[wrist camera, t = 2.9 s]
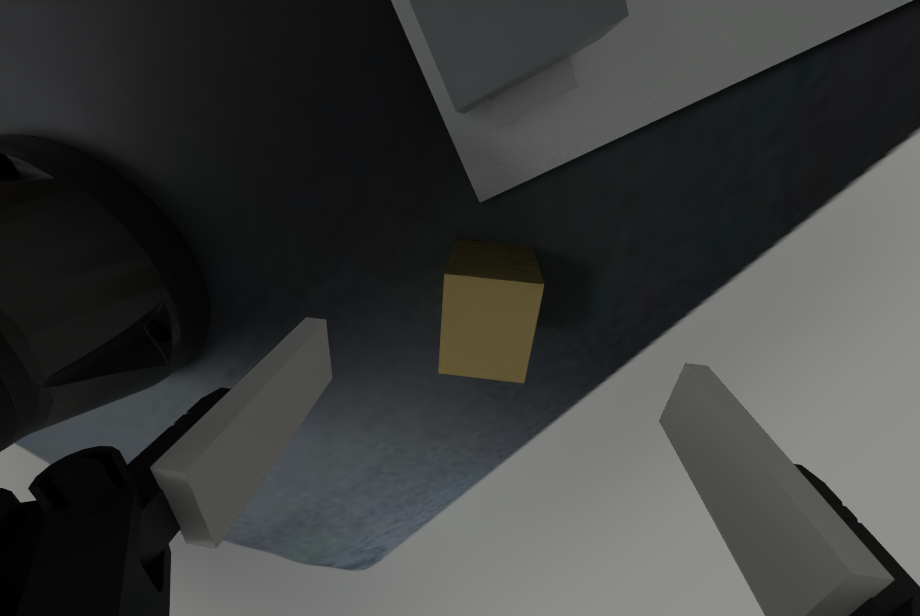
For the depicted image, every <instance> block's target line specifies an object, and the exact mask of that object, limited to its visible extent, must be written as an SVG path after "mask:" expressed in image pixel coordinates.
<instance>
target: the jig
mask: <svg viewBox="0 0 920 616" xmlns="http://www.w3.org/2000/svg"><path fill="white" fill-rule="evenodd" d="M910 1H913V0H391V2H392V4H393V6H394V8H395V11H396V13H397V15H398V18H399V20H400V22H401V24H402V27H403V29H404V31H405V34H406V36H407V38H408V40H409V43H410V45H411V47H412V49H413V52H414V54H415V56H416V59H417V61H418V63H419V65H420V68H421V70H422V72H423V75H424V77H425V79H426V81H427V84H428V86H429V88H430V91H431V93H432V95H433V97H434V100H435V102H436V104H437V107H438V109H439V111H440V113H441V116H442V118H443V120H444V123H445V125H446V127H447V129H448V132H449V134H450V136H451V138H452V141H453V143H454V145H455V148H456V150H457V152H458V154H459V157H460V159H461V161H462V164H463V166H464V168H465V170H466V173H467V175H468V177H469V180H470V182H471V184H472V186H473V189H474V191H475V193H476V196H477V198H478V200H479V202H483V201H485V200H487V199H489V198H491V197H493V196H495V195H498V194H500V193H502V192H504V191H506V190H508V189H510V188H513V187H515V186H517V185H519V184H521V183H523V182H525V181H528V180H530V179H532V178H534V177H536V176H538V175H540V174H543V173H545V172H547V171H549V170H551V169H553V168H555V167H557V166H560V165H562V164H564V163H566V162H568V161H570V160H572V159H575V158H577V157H579V156H581V155H583V154H585V153H587V152H590V151H592V150H594V149H596V148H598V147H600V146H602V145H605V144H607V143H609V142H611V141H613V140H615V139H617V138H619V137H622V136H624V135H626V134H628V133H630V132H632V131H634V130H637V129H639V128H641V127H643V126H645V125H647V124H649V123H652V122H654V121H656V120H658V119H660V118H662V117H664V116H667V115H669V114H671V113H673V112H675V111H677V110H679V109H682V108H684V107H686V106H688V105H690V104H692V103H694V102H696V101H699V100H701V99H703V98H705V97H707V96H709V95H711V94H714V93H716V92H718V91H720V90H722V89H724V88H726V87H729V86H731V85H733V84H735V83H737V82H739V81H741V80H744V79H746V78H748V77H750V76H752V75H754V74H756V73H759V72H761V71H763V70H765V69H767V68H769V67H771V66H773V65H776V64H778V63H780V62H782V61H784V60H786V59H788V58H791V57H793V56H795V55H797V54H799V53H801V52H803V51H806V50H808V49H810V48H812V47H814V46H816V45H818V44H821V43H823V42H825V41H827V40H829V39H831V38H833V37H836V36H838V35H840V34H842V33H844V32H846V31H848V30H850V29H853V28H855V27H857V26H859V25H861V24H863V23H865V22H868V21H870V20H872V19H874V18H876V17H878V16H880V15H883V14H885V13H887V12H889V11H891V10H893V9H895V8H898V7H900V6H902V5H904V4H906V3H908V2H910Z"/></svg>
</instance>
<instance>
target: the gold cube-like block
mask: <svg viewBox="0 0 920 616" xmlns="http://www.w3.org/2000/svg"><path fill="white" fill-rule="evenodd" d="M543 289H544V281H543V278H542V275H541V272H540V268H539V265H538V262H537V259H536V256H535V252H534V249H533V247H532V246H523V245H513V244H503V243H493V242H483V241H473V240H463V239H456V241H455V244H454V247H453V250H452V253H451V256H450V259H449V262H448V264H447V267H446V270H445V273H444V287H443V303H442V320H441V337H440V354H439V370H438V373H441V374H449V375H458V376H466V377H475V378H483V379H492V380H500V381H509V382H517V383H524V381H525V377H526V372H527V367H528V362H529V357H530V352H531V347H532V343H533V338H534V333H535V328H536V323H537V318H538V313H539V309H540V304H541V299H542V294H543Z"/></svg>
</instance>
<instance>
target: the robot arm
mask: <svg viewBox="0 0 920 616" xmlns="http://www.w3.org/2000/svg"><path fill="white" fill-rule="evenodd" d="M208 320H209V310H208V301H207V295H206V291H205V287H204V284H203V281H202V278H201V276H200V273H199V271H198V268H197V266H196V264H195V262H194V260H193V258H192V256H191V254H190V253H189V251H188V249H187V248H186V246H185V244H184V243H183V241H182V240H181V238H180V237H179V236H178V234H177V233H176V231H175V230H174V229H173V227H172V226H171V225H170V224H169V222H168V221H167V220H166V219H165V218H164V217H163V215H162V214H161V213H160V212H159V211H158V210H157V209H156V208H155V207H154V206H153V205H152V204H151V203H150V202H149V201H148V200H147V199H146V198H145V197H144V196H143V195H142V194H141V193H140V192H138V191H137V190H136V189H135V188H134V187H133V186H131V185H130V184H129V183H128V182H126V181H125V180H124V179H123V178H121V177H120V176H118V175H117V174H116V173H114V172H113V171H111V170H110V169H108V168H107V167H105V166H104V165H102V164H100V163H99V162H97V161H95V160H93V159H92V158H90V157H88V156H86V155H84V154H82V153H80V152H78V151H76V150H73V149H71V148H69V147H66V146H64V145H61V144H58V143H55V142H52V141H49V140H45V139H41V138H37V137H32V136H25V135H12V134H8V135H0V452H1V451H2V450H4V449H5V448H7V447H9V446H10V445H12V444H14V443H15V442H17V441H18V440H20V439H21V438H23V437H25V436H27V435H29V434H31V433H33V432H36V431H38V430H41V429H44V428H46V427H49V426H51V425H54V424H57V423H59V422H62V421H64V420H67V419H70V418H72V417H75V416H77V415H80V414H83V413H85V412H88V411H90V410H93V409H96V408H98V407H101V406H103V405H106V404H109V403H111V402H114V401H116V400H119V399H122V398H124V397H127V396H129V395H132V394H135V393H137V392H140V391H142V390H145V389H147V388H150V387H152V386H154V385H155V384H157V383H159V382H161V381H162V380H164V379H165V378H167V377H168V376H169V375H171V374H172V373H173V372H174V371H176V370H177V369H178V368H180V367H181V366H182V365H184V364H185V363H186V362H188V361H189V360H190V359H191V358H192V357H193V356H194V355H195V354H196V353H197V352H198V350H199V349H200V347H201V345H202V344H203V341H204V339H205V336H206V333H207V328H208ZM331 379H332V369H331V360H330V351H329V342H328V333H327V324H326V320H325V319H317V318H309V317H306V318H305V319H304V320H303V321H302V322H301V323H300V324H299V325H298V326H297V327H295V328H294V329H293V330H292V331H291V332H290V333H289V334H288V335H287V336H286V337H285V338H284V339H283V340H282V341H281V342H280V343H279V344H278V345H277V346H276V347H275V348H274V349H273V350H272V351H271V352H269V353H268V354H267V355H266V356H265V357H264V358H263V359H262V360H261V361H260V362H259V363H258V364H257V365H256V366H255V367H254V368H253V369H252V370H251V371H250V372H249V373H248V374H247V375H246V376H245V377H243V378H242V379H241V380H240V381H239V382H238V383H237V384H236V385H235V386H234V387H233V388H232V389H228V388H219V389H218V390H216V391H214V392H212V393H210V394H208V395H207V396H205V397H203V398H201V399H200V400H199V401H198V402H197V403H196V404H195V405H194V406H192V407H191V408H190V409H189V410H188V411H187V413H186V415H185V414H184V415H182V416H181V417H180V418H179V419H178V420H177V421H176V422H175V423H174V425H173V426H170V427H169V428H168V429H167V430H166V431H165V432H163V433H162V434H161V435H160V436H159V437H158V438H157V439H156V440H155V441H153V442H152V443H151V444H150V445H149V446H148V447H147V448H146V449H145V450H143V451H142V452H141V453H140V454H139V455H138V456H137V457H136V458H134V459H133V460H132V461H131V462H130V463H129V464H128V465H127V464H126V462H125V460H124V458H123V456H122V454H121V452H120V451H119V450H117V449H116V448H114V447H112V446H97V447H92V448H87V449H83V450H80V451H78V452H75V453H73V454H70V455H67V456H65V457H64V458H62V459H60V460H58V461H57V462H55V463H53V464H51V465H50V466H48V467H47V468H46V469H45V470H44V471H43V472H41V473H40V474H39V475H38V476H36V478H35V479H34V481H33V482H32V483H31V485H30V486H29V488H28V489H29V490H30V492H31V493H32V494H33V496H34V497H35V498H36V501H29V502H23V503H20V502H19V500H18V499H17V498H16V496H15V495H14V494H13V493H12V491H9V490H6V489H3V488H0V616H169V609H170V573H171V551H170V547H169V542H170V541H171V540H172V539H173V537H174V536H175V535H176V533H177V532H178V531H179V530H180V531H181V533H182V535H183V537H184V539H185V541H186V543H187V544H191V545H198V546H204V547H210V548H217V547H218V546H219V544H220V543H221V541H222V540H223V538H224V537H225V535H226V534H227V532H228V531H229V529H230V528H231V527H232V525H233V524H234V522H235V521H236V519H237V518H238V516H239V515H240V513H241V512H242V510H243V509H244V507H245V506H246V504H247V503H248V502H249V500H250V499H251V497H252V496H253V494H254V493H255V491H256V490H257V488H258V487H259V485H260V484H261V482H262V481H263V479H264V478H265V476H266V475H267V474H268V472H269V471H270V469H271V468H272V466H273V465H274V463H275V462H276V460H277V459H278V457H279V456H280V454H281V453H282V451H283V450H284V449H285V447H286V446H287V444H288V443H289V441H290V440H291V438H292V437H293V435H294V434H295V432H296V431H297V429H298V428H299V426H300V425H301V424H302V422H303V421H304V419H305V418H306V416H307V415H308V413H309V412H310V410H311V409H312V407H313V406H314V404H315V403H316V401H317V400H318V398H319V397H320V396H321V394H322V393H323V391H324V390H325V388H326V387H327V385H328V384H329V382H330V381H331ZM659 422H660V423H661V425H662V427H663V429H664V431H665V432H666V434H667V436H668V438H669V440H670V442H671V444H672V445H673V447H674V449H675V451H676V453H677V455H678V456H679V458H680V460H681V462H682V464H683V465H684V467H685V469H686V471H687V473H688V475H689V477H690V478H691V480H692V482H693V484H694V486H695V488H696V490H697V491H698V493H699V495H700V497H701V499H702V500H703V502H704V504H705V506H706V508H707V510H708V512H709V513H710V515H711V517H712V519H713V521H714V522H715V524H716V526H717V528H718V530H719V532H720V534H721V535H722V537H723V539H724V541H725V543H726V545H727V546H728V548H729V550H730V552H731V554H732V556H733V557H734V559H735V561H736V563H737V565H738V567H739V568H740V570H741V572H742V574H743V576H744V577H745V580H746V581H747V583H748V585H749V587H750V589H751V591H752V592H753V594H754V596H755V598H756V600H757V602H758V603H759V605H760V607H761V609H762V611H763V612H764V614H765V616H920V587H919V585H917V583H916V582H915V581H914V580H913V579H912V578H911V577H910V576H909V574H907V572H906V571H905V570H904V569H903V568H902V567H901V566H900V565H899V564H898V563H897V561H896V560H895V559H894V558H893V557H892V556H891V555H890V554H889V553H888V552H887V551H886V549H885V548H884V547H883V546H882V545H881V544H880V543H879V542H878V541H877V540H876V539H875V537H874V536H873V535H872V534H871V533H870V532H869V531H868V530H867V529H866V528H865V527H864V525H862V523H858V521H857V518H856V517H855V516H854V515H853V513H852V512H851V511H850V510H849V509H848V508H847V507H846V506H843V505H842V501H841V500H840V499H839V498H838V497H837V496H836V495H835V494H834V493H833V492H832V491H831V489H829V487H828V486H827V485H826V484H825V483H824V482H823V481H821V480H820V479H819V478H817V477H816V476H815V475H814V474H812V473H811V472H809V471H808V470H807V469H806V468H804V467H803V466H802V465H797V464H793V463H792V462H791V461H790V459H788V457H787V456H786V455H785V454H784V453H783V451H782V450H781V449H780V448H779V447H778V446H777V445H776V444H775V443H774V441H773V440H772V439H771V438H770V437H769V435H768V434H767V433H766V432H765V431H764V430H763V429H762V427H761V426H760V425H759V424H758V423H757V422H756V421H755V419H754V418H753V417H752V416H751V415H750V414H749V413H748V411H747V410H746V409H745V408H744V407H743V406H742V405H741V403H740V402H739V401H738V400H737V399H736V398H735V397H734V396H733V394H732V393H731V392H730V391H729V390H728V389H727V388H726V386H725V385H724V384H723V383H722V382H721V381H720V380H719V378H718V377H717V376H716V375H715V374H714V373H713V372H712V371H711V369H710V368H709V367H708V366H703V365H695V364H686V363H685V365H684V367H683V370H682V372H681V374H680V376H679V378H678V381H677V383H676V385H675V387H674V389H673V392H672V394H671V396H670V398H669V400H668V402H667V405H666V407H665V409H664V411H663V413H662V415H661V418H660V420H659Z"/></svg>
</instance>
